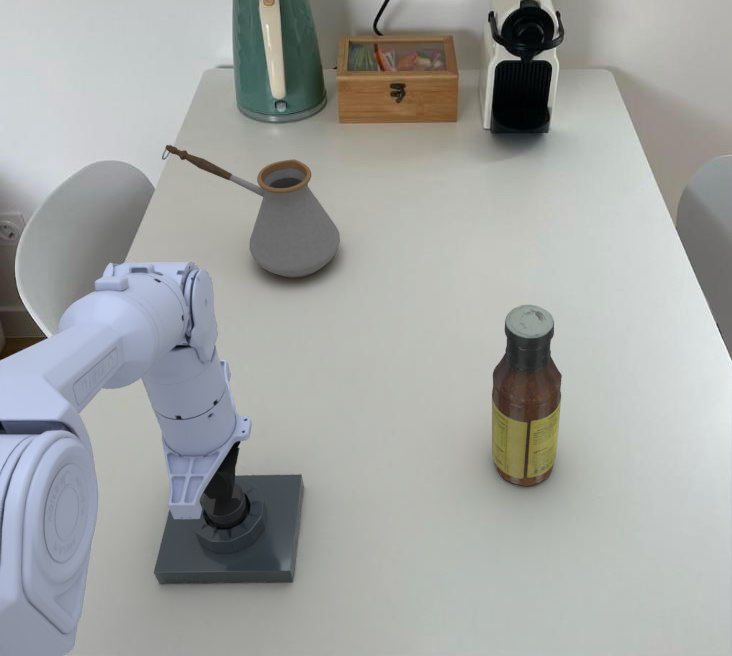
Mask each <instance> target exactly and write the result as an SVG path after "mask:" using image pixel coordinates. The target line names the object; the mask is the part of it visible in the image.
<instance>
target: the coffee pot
mask: <svg viewBox="0 0 732 656" xmlns="http://www.w3.org/2000/svg"><path fill="white" fill-rule="evenodd" d="M166 152H167V154H166ZM165 154H166V155H165ZM170 154H171V155H176V156H178V157H179V158H180V160H181V161H187V162H189V163H191V164H192V165H193V166H195V167H197V168H198V169H200V170H203V171H205V172H207V173H209V174H212V175H215V176H217V177H218V178H219V177H220V178H222V179H224V180H226V181H230V182H232V183H235V184H236V185H238V186H240V187H242V188H245V189H246V190H249V191H250V192H252V193H254V194H256V195H258V196H260V197H262V200H261V203H260V207H259V210H258V213H257V216H256V219H255V222H254V224H253V225H254V226H253V229H252V232H251V236H250V238H249V252H250V255H251V256H252V258H253V260H254V261H255V262H256V263H257V264H258V265H259V266H260V267H261V268H262V269H264V270H266V271H268V272H269V273H271V274H275V275H278V276H281V277H284V278H291V279H292V278H293V279H294V278H304V277H307V276H310V275H313V274H315V273H316V272H318V271H320V270H321V269H322V268H324V266H326V265H327V264H329V262H331V261H332V259H333V258H334V256H335V255H336V253H337V252H338V249H339V246H340V243H341V235H340V231H339V229H338V228H337V225H336V224H335V222H334V221H333V220H332V218H331V217H330V215H329V214H328V212H327V211H326V210H325V208H324V207H323V205H322V204H321V203H320V201H319V199H317V196H316V195H315V194H314V193H313V191H312V190H311V188H310V187H309V183H310V181H311V179H312V171H311V169H310V168H309V166H307V165H306V164H305V163H304V162H301V161H300V160H297V159H285V160H280V161H279V160H278V161H275V162H272V163H270V164H267V165H266V166H265V167H262V169H261V170H260V171H259V172H258V174H257V177H256V182H257V184H258V185H256V184H255V183H252V182H250V181H247V180H245V179H243V178H240V177H238V176H236V175H234V174H233V173H231V172H229V171H228V170H225V169H223V167H220V166H218V165H216V164H215V163H213V162H211V161H209V160H207V159H205V158H203V157H200V156H196V155H193V154H190V153H189V152H188V151H187V150H186V149H183V150H181V149H178V147H176V146H173V145H172V144H166V145H165V149H164V151H163V153H162V156H161V160H162V161H165V160H166V159H167V158H169V156H170Z"/></svg>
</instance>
